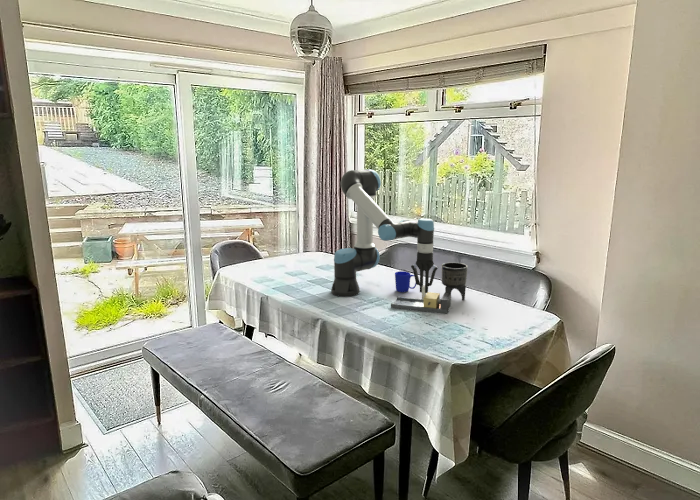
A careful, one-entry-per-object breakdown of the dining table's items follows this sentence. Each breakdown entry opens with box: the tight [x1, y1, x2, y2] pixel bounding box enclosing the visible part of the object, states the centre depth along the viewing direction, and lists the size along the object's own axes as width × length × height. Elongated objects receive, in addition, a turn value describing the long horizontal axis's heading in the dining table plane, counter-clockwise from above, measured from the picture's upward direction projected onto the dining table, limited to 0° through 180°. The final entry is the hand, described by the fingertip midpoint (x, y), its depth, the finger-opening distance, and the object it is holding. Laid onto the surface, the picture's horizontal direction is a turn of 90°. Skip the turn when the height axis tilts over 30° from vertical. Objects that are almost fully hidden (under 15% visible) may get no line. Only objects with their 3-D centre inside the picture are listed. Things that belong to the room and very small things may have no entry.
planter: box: [441, 261, 469, 301], centre depth 241 cm, size 13×13×18 cm
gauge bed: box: [390, 296, 452, 315], centre depth 231 cm, size 27×12×2 cm, turn 70°
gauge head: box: [423, 291, 441, 308], centre depth 227 cm, size 7×12×5 cm, turn 160°
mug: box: [394, 271, 417, 293], centre depth 255 cm, size 8×12×10 cm
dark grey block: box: [440, 291, 452, 312], centre depth 226 cm, size 3×12×6 cm, turn 160°
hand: (423, 298), depth 230 cm, fingers closed
